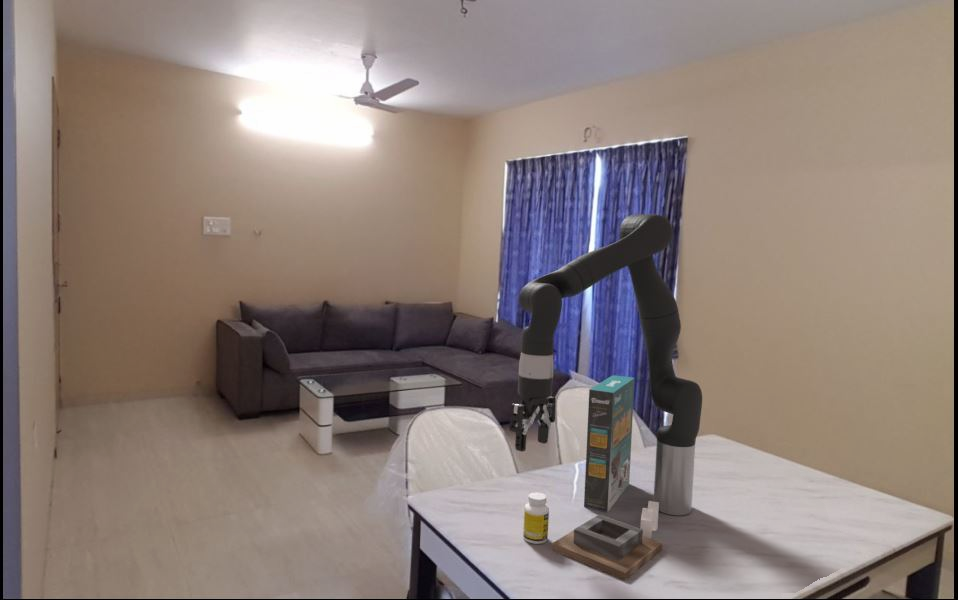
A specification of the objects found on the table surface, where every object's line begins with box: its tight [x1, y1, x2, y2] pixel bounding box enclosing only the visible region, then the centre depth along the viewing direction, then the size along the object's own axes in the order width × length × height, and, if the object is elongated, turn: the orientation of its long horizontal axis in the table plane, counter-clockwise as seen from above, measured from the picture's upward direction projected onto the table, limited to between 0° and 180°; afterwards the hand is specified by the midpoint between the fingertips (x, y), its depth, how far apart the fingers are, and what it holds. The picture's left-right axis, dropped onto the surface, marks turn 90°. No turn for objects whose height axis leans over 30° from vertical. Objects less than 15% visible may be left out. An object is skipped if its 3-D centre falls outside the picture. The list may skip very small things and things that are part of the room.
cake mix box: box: [583, 375, 635, 513], centre depth 156 cm, size 22×6×30 cm, turn 152°
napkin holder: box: [639, 500, 659, 539], centre depth 136 cm, size 15×11×6 cm
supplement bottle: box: [522, 492, 550, 545], centre depth 130 cm, size 5×5×10 cm
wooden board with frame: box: [551, 514, 664, 581], centre depth 127 cm, size 17×17×4 cm
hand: (531, 446), depth 130 cm, fingers open, 8 cm apart
